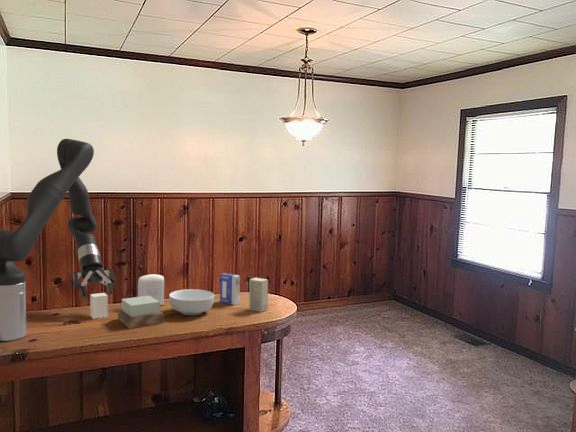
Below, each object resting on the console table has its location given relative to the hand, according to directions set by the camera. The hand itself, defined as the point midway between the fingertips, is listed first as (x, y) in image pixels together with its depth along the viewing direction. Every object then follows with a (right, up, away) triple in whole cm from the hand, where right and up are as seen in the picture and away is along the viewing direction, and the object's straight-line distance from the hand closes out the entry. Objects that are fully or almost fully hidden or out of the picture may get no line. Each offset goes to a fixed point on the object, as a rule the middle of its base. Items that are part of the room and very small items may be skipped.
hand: (98, 295), depth 176 cm
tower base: (+16, -9, -4) cm, 19 cm away
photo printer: (+15, -7, +16) cm, 23 cm away
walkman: (+45, -7, +24) cm, 51 cm away
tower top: (+17, -5, -4) cm, 18 cm away
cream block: (0, -8, 0) cm, 8 cm away
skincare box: (+57, -8, +16) cm, 60 cm away
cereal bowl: (+32, -8, +9) cm, 34 cm away
